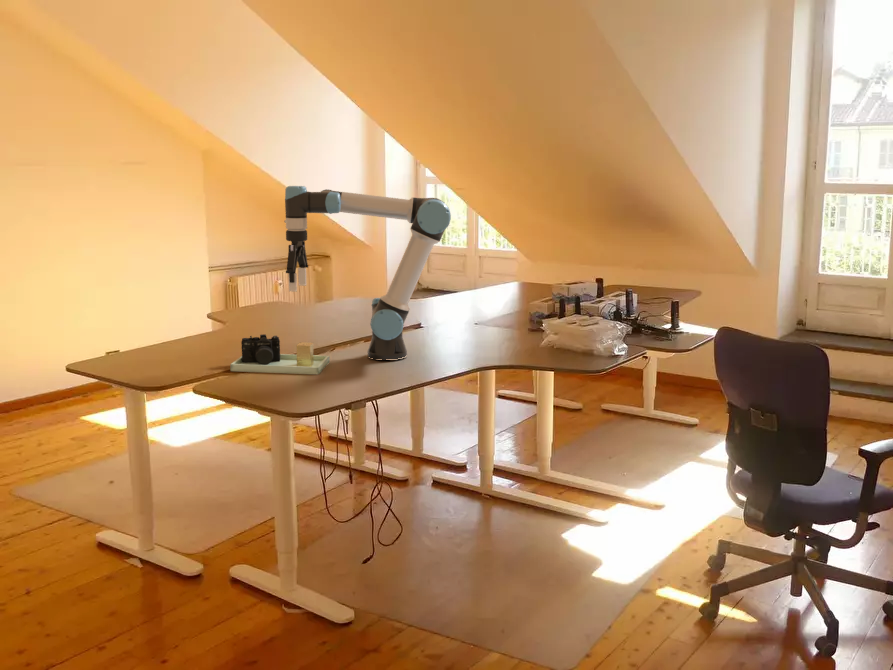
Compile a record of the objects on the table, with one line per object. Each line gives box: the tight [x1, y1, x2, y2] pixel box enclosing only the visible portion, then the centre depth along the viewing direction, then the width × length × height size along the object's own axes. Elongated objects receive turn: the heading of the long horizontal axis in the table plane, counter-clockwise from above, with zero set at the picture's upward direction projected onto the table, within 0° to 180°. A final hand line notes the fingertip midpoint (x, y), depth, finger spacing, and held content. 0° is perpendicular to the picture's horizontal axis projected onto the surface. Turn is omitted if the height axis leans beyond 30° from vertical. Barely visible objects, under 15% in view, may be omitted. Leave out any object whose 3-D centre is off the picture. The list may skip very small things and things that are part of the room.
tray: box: [230, 353, 331, 375], centre depth 323 cm, size 18×32×2 cm, turn 85°
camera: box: [240, 334, 281, 365], centre depth 323 cm, size 14×11×10 cm
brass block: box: [296, 341, 314, 367], centre depth 322 cm, size 5×5×8 cm
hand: (297, 288), depth 320 cm, fingers open, 13 cm apart
